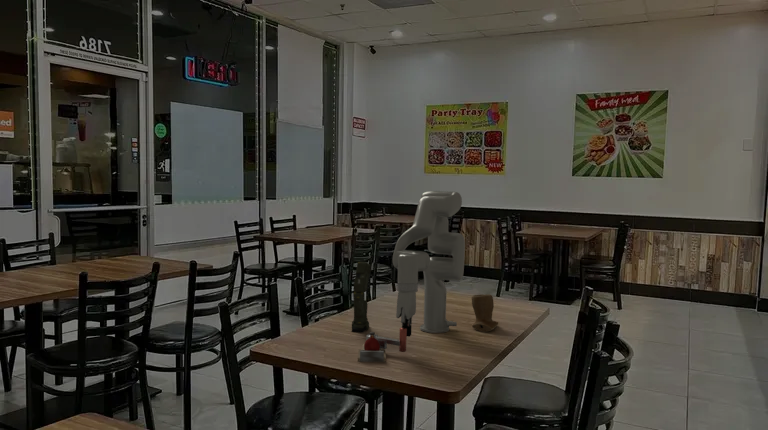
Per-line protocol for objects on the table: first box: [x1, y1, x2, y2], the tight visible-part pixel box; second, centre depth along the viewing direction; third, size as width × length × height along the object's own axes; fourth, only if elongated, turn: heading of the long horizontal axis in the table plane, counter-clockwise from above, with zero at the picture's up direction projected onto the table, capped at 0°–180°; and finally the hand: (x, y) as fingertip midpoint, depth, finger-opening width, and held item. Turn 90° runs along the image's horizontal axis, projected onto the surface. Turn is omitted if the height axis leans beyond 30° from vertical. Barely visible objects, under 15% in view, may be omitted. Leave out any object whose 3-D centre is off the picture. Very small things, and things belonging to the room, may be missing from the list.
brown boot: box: [471, 293, 499, 332], centre depth 251 cm, size 15×12×15 cm
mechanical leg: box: [351, 261, 372, 334], centre depth 246 cm, size 14×7×30 cm, turn 169°
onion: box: [363, 335, 380, 351], centre depth 208 cm, size 6×6×8 cm
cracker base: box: [357, 331, 387, 363], centre depth 211 cm, size 10×17×7 cm, turn 1°
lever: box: [365, 327, 408, 353], centre depth 213 cm, size 16×4×8 cm, turn 61°
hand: (406, 335), depth 213 cm, fingers closed
